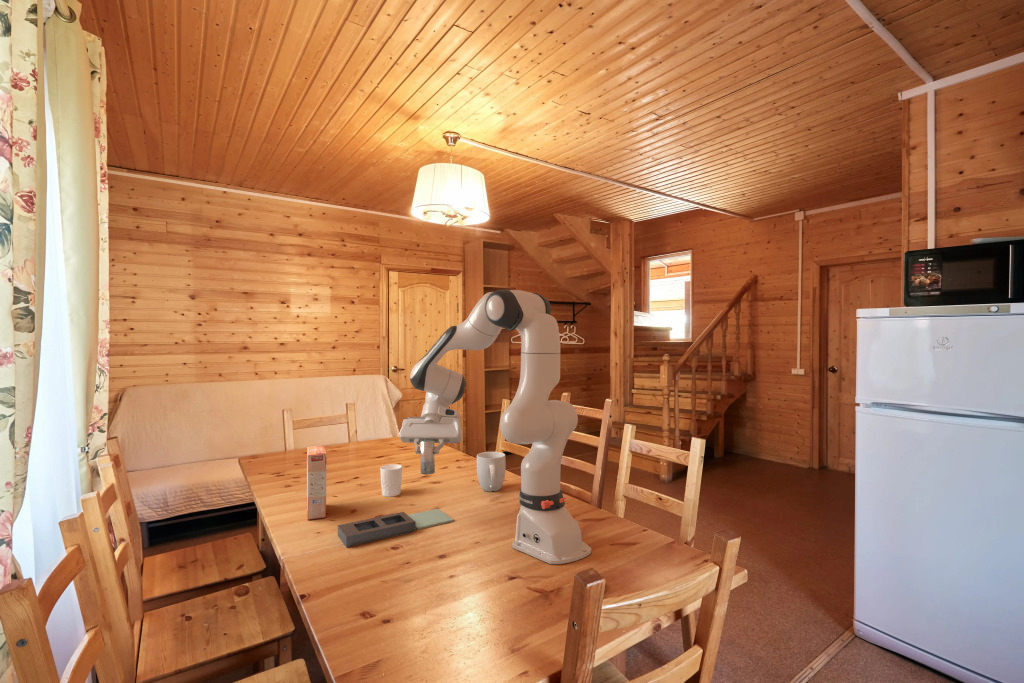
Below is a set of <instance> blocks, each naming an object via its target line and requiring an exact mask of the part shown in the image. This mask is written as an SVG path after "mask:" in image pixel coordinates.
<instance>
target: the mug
mask: <svg viewBox="0 0 1024 683" xmlns="http://www.w3.org/2000/svg"><path fill="white" fill-rule="evenodd" d="M506 463H507V462H506V454H505V453H504V452H500V451H483V452H480V453H478V454H476V473H477V474H476V475H477V480H478V484H479V485H480V487H481V489H482V490H483V491H484V492H488V493H489V492H492V491H494V492H497V491H500V490H501V488H502V487H503V485H504V481H505V478H506V469H507V468H506Z"/></svg>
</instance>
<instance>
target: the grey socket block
mask: <svg viewBox="0 0 1024 683" xmlns="http://www.w3.org/2000/svg"><path fill="white" fill-rule="evenodd" d="M408 515H409V514H407V513H406V512H405V511H400V512H395V513H390V514H386V515H381V516H376V517H371V518H366V519H362V520H361V519H360V520H356V521H351V522H347V523H343V524H337V537H338V538H339V540H340V541H341V542H342V544H343V545H344V546H345V548H351V547H355V546H359V545H364V544H368V543H372V542H377V541H380V540H385V539H389V538H395V537H399V536H402V535H408V534H412V533H416V530H417V529H416V524H415V521H414V520H413V519H412V518H411V517H409V516H408Z"/></svg>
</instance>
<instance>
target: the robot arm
mask: <svg viewBox="0 0 1024 683" xmlns="http://www.w3.org/2000/svg"><path fill="white" fill-rule="evenodd" d="M551 314H552V307H551V304H550V301H549V299H548V298H547V297H545V296H544V295H542V294H539V293H537V292H530V291H525V290H521V289H520V290H519V289H506V288H505V289H498V290H495V291H489V292H486V293H485V294H484V295H483V296H482V297H481V298H480V299H479V300H478V301H477V303H476V304H474V307H473V308H472V310H471V311H470V313H469V315H468V316H467V318H466V319H465V320H463V321H462V322H461V323H459V324H457V325H451V326H450V327H448V328H447V329H446V330H445V331H444V332H443V334H442V335H441V336H440V337H438V339H437V341H435V342H434V344H433V345H432V346H431V347H430V349H428V351H427V352H426V353H425V354H424V356H423V357H422V358H420V359H419V360H418V361H417V362H416V363H415V364H414V366H413V367H412V369H411V370H410V375H409V381H410V383H411V386H412V387H413V388H414V389H415V390H419V391H422V392H425V396H424V397H425V398H424V399H425V402H424V404H423V406H422V410H421V414H420V416H408V417H406V418H404V419H403V420H402V423H401V428H400V431H399V432H398V438H399V440H400V441H401V442H402V443H406V444H407V443H408V444H409V443H410V444H412V443H413V444H414V446H415V454H417V455H418V454H419V455H420V441H422V440H434V444H437V445H436V446H434V450H433V452H434V454H435V455H439V454H440V450H441V449H442V448H443V447H444V446H445V444H459V443H461V442H462V440H463V439H462V438H463V428H462V423H461V422H462V421H461V416H460V414H459V411H458V410H455V409H452V408H450V405H453V404H455V403H457V402H458V401H460V400H461V399H462V398H463V395H464V394H465V390H466V384H467V382H466V378H465V376H464V375H463V374H462V373H460V372H457V371H455V370H453V369H450V368H447V367H445V366H443V365H439V364H438V363H439V361H441V359H442V358H443V357H444V356H445V354H447V353H448V352H450V351H453V350H464V351H465V350H466V351H482V350H486V349H487V348H489V347H491V345H493V344H494V342H495V341H496V340H497V338H498V337H499V335H500V333H501V331H502V330H503V329H505V330H507V331H510V332H512V331H515V330H516V331H517V332H518V334H519V335H520V340H521V341H520V342H521V343H520V348H521V349H520V375H519V383H518V386H517V389H516V392H515V395H514V397H513V399H512V401H511V403H510V404H509V406H507V408H506V409H505V410H503V413H502V414H501V416H500V421H499V429H500V432H501V434H502V437H503V438H504V440H505V441H507V442H508V443H510V444H512V445H513V444H515V445H530V444H532V445H531V448H530V449H529V451H528V453H527V454H526V455H525V456H524V457H523V459H522V461H521V464H520V490H519V496H518V499H519V504H520V508H519V510H518V514H517V516H516V525H515V537H514V538H515V539H514V540H513V542H511V543H512V544H511V548H513V549H514V550H517V551H520V552H522V553H524V554H526V555H528V556H530V557H531V556H532V557H533V558H535V559H537V560H540V561H542V562H545V563H547V564H550V565H562V564H567V563H569V564H570V563H572V562H576V561H579V560H581V559H584V558H585V557H587V556H590V554H592V547H590V545H588V544H587V543H586V542H584V541H583V536H582V535H583V534H582V530H581V527H580V524H579V522H578V520H576V519H574V518H573V516H572V515H571V513H570V512H569V510H568V509H567V508H566V506H565V505H566V502H567V500H566V499H567V496H566V497H564V495H563V492H562V489H561V465H562V458H563V454H564V451H565V448H566V445H567V443H568V440H569V438H570V436H571V435H572V433H573V432H574V431H575V429H576V428H577V426H578V424H579V420H578V419H579V417H578V416H579V415H578V412H577V410H576V408H575V406H574V405H573V404H572V403H571V402H568V401H564V400H560V399H559V400H558V399H550V400H549V398H550V394H552V393H551V392H552V391H553V389H554V388H555V387H556V386H557V385H558V384H559V382H560V380H561V338H560V336H561V335H560V331H559V330H560V329H559V324H558V321H557V319H556V318H555V317H554V316H553V315H551Z"/></svg>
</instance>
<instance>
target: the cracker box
mask: <svg viewBox="0 0 1024 683" xmlns="http://www.w3.org/2000/svg"><path fill="white" fill-rule="evenodd" d="M306 453H307V456H306V513H307V514H306V515H307V520H317V519H324V518H325V519H326V518H327V450H326V446H325V445H313V446H312V445H311V446H307V451H306Z"/></svg>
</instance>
